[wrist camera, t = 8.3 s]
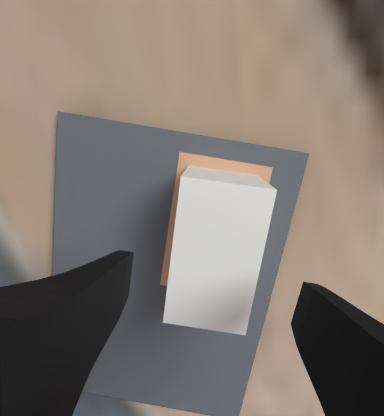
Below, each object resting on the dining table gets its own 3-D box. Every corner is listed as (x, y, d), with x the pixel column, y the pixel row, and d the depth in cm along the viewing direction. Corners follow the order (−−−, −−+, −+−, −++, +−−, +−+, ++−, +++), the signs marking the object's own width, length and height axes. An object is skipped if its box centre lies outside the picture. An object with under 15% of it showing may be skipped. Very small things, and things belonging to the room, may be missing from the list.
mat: (236, 413, 23) (237, 420, 22) (52, 379, 23) (48, 386, 23) (305, 153, 17) (309, 153, 17) (62, 112, 18) (57, 111, 17)
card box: (257, 175, 17) (277, 189, 12) (236, 286, 19) (245, 335, 15) (188, 165, 17) (180, 176, 13) (174, 276, 19) (162, 322, 15)
